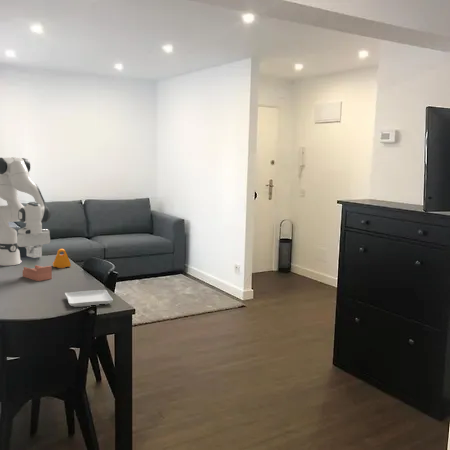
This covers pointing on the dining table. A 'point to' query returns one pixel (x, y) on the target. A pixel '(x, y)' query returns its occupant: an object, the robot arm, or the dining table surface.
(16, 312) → the dining table surface
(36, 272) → the pink boxy piece
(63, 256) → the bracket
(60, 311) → the dining table surface
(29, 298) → the dining table surface
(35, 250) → the block with knob
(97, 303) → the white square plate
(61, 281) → the dining table surface
